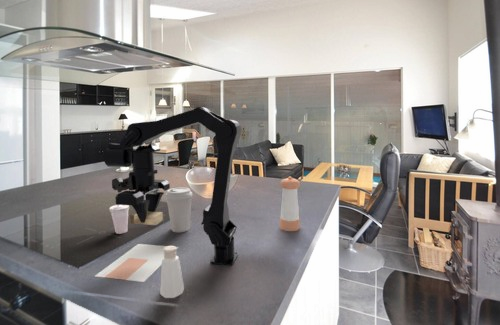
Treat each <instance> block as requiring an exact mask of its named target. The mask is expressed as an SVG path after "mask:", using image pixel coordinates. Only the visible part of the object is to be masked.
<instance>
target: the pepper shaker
mask: <svg viewBox="0 0 500 325" xmlns="http://www.w3.org/2000/svg"><path fill="white" fill-rule="evenodd" d="M166 246H167V247H165V248H164V249H163V251H164V258H163V260H162V265H161V270H160V272H161V273H160V291H159V293H160V294H159V295H161V296H162V297H163V298H164V299H175V298H176V297H178V296H181V295H182V294H183V293H184V289H185V285H184V278H183V274H182V273H183V272H182V268H181V262H180V257H179V256H178V255H177V250H176V247H177V246H175V245H166Z"/></svg>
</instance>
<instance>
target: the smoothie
mask: <svg viewBox="0 0 500 325" xmlns="http://www.w3.org/2000/svg"><path fill="white" fill-rule="evenodd" d="M129 210H130V205H116V204H114V205H112V206H110V207H109V212H110V214H111V218H112V223H113V227H114V231H115V233H116V234H117V235H118V234H119V235H121V234H125V233H127V232H128V223H129V222H128V221H129Z"/></svg>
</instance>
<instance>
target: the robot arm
mask: <svg viewBox="0 0 500 325" xmlns="http://www.w3.org/2000/svg"><path fill="white" fill-rule="evenodd" d="M197 124H201V125H202V126H203V127H205V128H206V129H207V130H209V131H211V132H212V133H214V134H215V135H214V136H215V146H216V150H217V158H216V166H215V172H214V182H213V190H212V197H211V203H209V204H207V206H206V207H205V208H204V209H203V211H202V222H201V223H200V225H202V228H203V229H202V230H203V232H204V233H205V234H206V235H207V236H208V238H209V240H210V244H211V245H213V256H212V258H211V260H210V261H209V262H210V264H214V265H215V264H216V265H226V266H233V265H234V263H235V261H236V259H237V257H238V256H239V253H238V252H235V236H234V235H235V233H236V232H237V231H236V230H237V228H238V227H237V225H236V224H234V222H233V221H231V219H230V211H229V206H228V205H229V204H228V197H229V189H230V184H231V183H230V182H231V175H232V168H233V160H234V154H235V151H236V149H237V146H239V145H238V144H239V141H240V138H241V135H242V132H243V130H242V129H243V128H242V126H241V124H240V123H239V122H238V121H236V120H235V119H227V118H225V117H222V116H221V115H219V114H217V113H214V112H213V111H211V110H209V109H208V108H207V107H204V106H203V107H202V106H198V107H197V106H196V107H195V108H194V109H190V110H188V111H184V112H180V113H178V114H174V115H171V116H168V117H165V118H162V119H158V120H152V121H151V120H150V121H141V122H134V123H133V122H132V123H130V124H129V125H128V126H127V128H126V132H125V135H124V137H123V138H122V139H121V141H120V143H108V144H107V148H106V149H105V152H104V154H103V161H104V164H105V165H106V167H109V168H130V167H132V171H129V172H128V177H126V178H122V177H117V178H116V177H115V178H113V179H111V188H112V189H113V191H117V194H116V196H115V197H114V199H115V205H129V206H132V208H133V210H134V212H136V213H137V215H138V217H139V220H140V222H141V223H144V222H145V220H146V216H147V211H152V212H157V208H158V207H159V205H160V204H159V203H160V201H161V200H162V197H163V195H165V194H164V193H165V192H164V191H166V192H167V190H169V189H171V188H170V186H171V185H170V182H169V181H168V179H156V178H155V176H156V174H158V169H155V162H154V161H155V160H154V153H156V152H160V151H161V148H160V147H159V146H157V145H156V144H155V143H154V141H155V140H157V139H159V138H160V137H162V136H164V135H165V134H167V133H170V132H174V131H177V130H181V129H184V128H188V127H191V126H193V125H194V126H195V125H197ZM144 144H148V145H144ZM135 147H136V148H135ZM160 189H162V190H163V191H161V192H160Z"/></svg>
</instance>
